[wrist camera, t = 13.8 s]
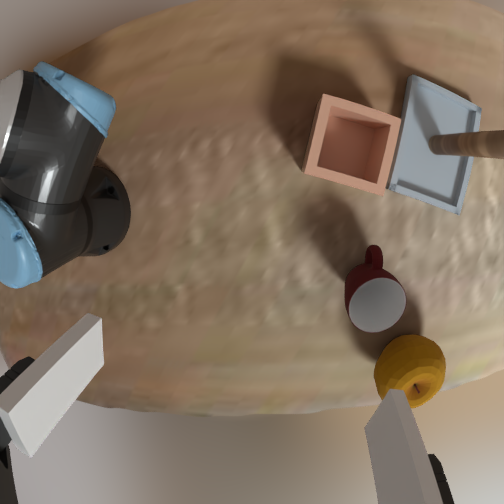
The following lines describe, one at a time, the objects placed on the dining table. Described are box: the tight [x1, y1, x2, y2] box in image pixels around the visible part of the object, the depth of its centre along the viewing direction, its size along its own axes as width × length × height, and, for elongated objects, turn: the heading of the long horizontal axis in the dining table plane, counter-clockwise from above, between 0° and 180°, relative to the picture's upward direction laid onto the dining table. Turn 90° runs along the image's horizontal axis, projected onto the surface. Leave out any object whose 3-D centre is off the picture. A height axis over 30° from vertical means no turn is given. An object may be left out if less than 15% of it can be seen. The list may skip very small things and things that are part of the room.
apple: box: [374, 334, 446, 408], centre depth 44 cm, size 13×13×11 cm
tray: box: [385, 74, 482, 215], centre depth 38 cm, size 18×13×2 cm
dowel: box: [429, 130, 504, 159], centre depth 29 cm, size 3×3×18 cm
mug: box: [345, 245, 406, 333], centre depth 41 cm, size 11×8×10 cm
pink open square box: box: [301, 94, 401, 196], centre depth 37 cm, size 10×10×8 cm
